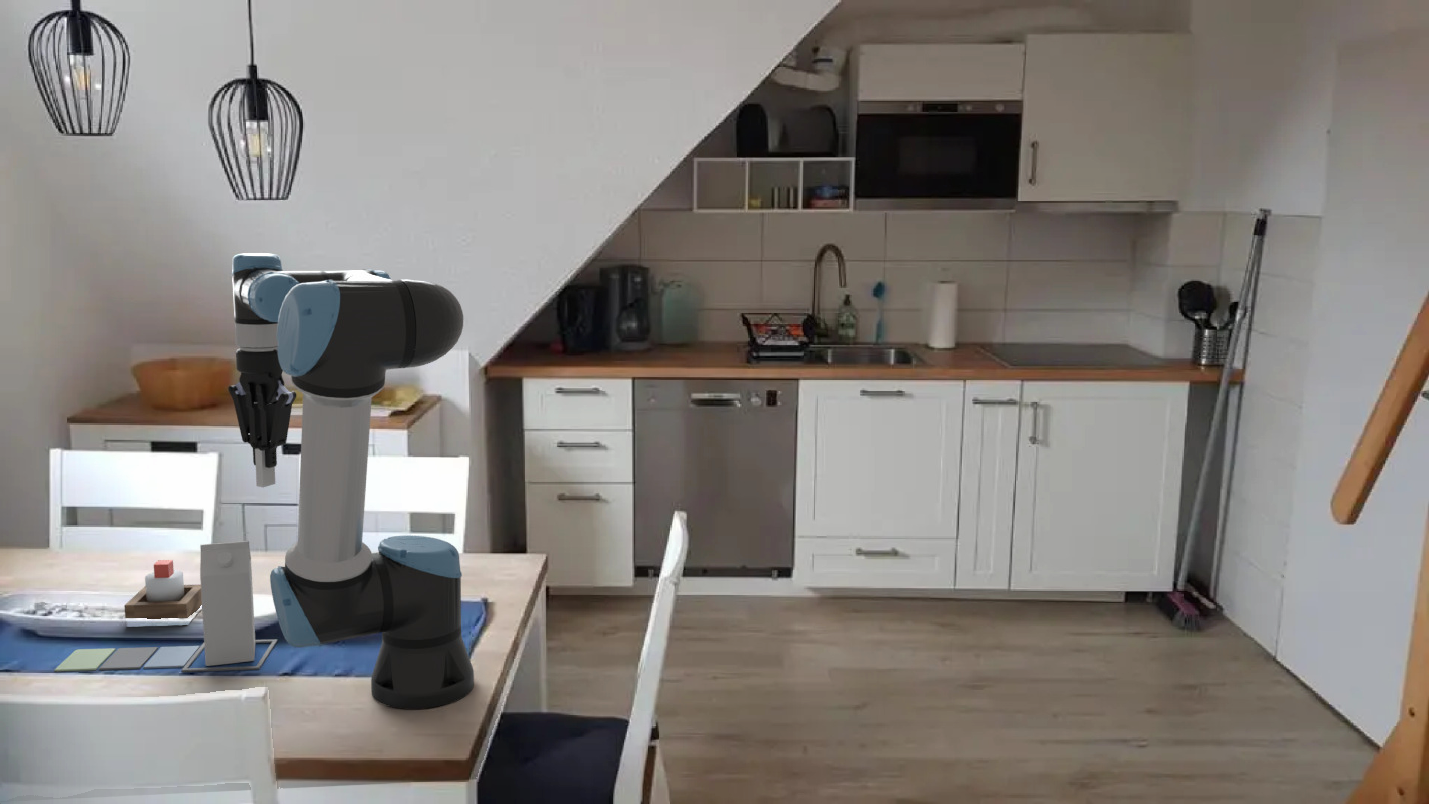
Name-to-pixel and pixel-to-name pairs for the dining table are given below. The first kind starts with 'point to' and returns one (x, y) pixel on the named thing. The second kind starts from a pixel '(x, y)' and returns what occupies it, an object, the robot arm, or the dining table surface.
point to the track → (146, 658)
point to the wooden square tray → (164, 605)
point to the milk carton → (227, 603)
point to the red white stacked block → (164, 583)
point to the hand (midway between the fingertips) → (266, 484)
